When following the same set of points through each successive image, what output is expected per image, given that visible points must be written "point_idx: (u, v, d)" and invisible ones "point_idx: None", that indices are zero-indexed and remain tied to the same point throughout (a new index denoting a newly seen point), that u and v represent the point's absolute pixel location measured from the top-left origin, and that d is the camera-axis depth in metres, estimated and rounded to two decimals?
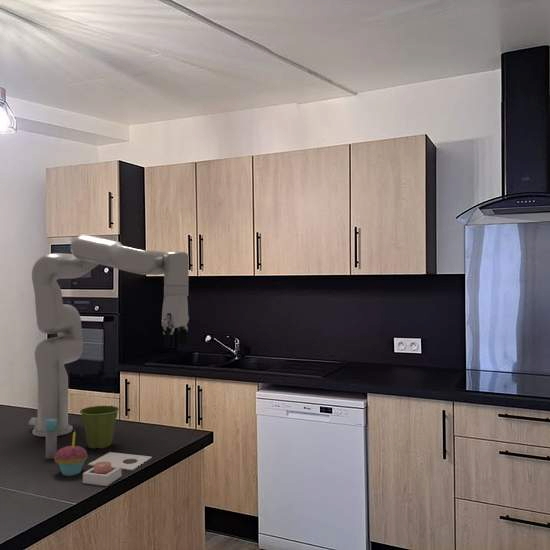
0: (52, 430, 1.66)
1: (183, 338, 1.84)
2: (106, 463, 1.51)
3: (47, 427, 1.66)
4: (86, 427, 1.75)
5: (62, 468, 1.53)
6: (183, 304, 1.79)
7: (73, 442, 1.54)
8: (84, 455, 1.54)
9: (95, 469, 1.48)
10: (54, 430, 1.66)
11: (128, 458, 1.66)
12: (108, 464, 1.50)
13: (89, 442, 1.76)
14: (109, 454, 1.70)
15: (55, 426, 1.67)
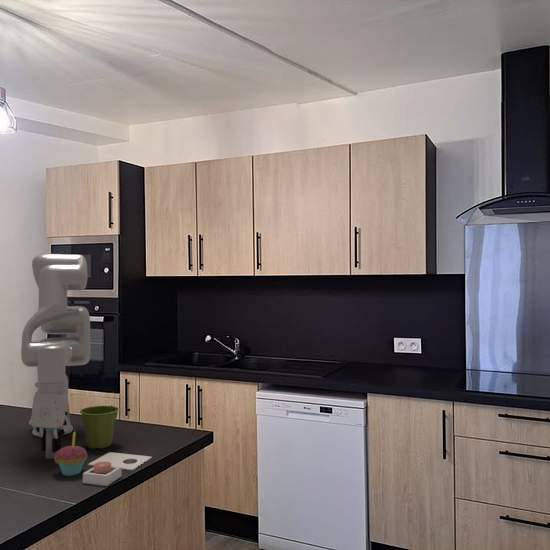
0: (52, 430, 1.66)
1: None
2: (106, 463, 1.51)
3: None
4: (86, 427, 1.75)
5: (62, 468, 1.53)
6: None
7: (73, 442, 1.54)
8: (84, 455, 1.54)
9: (95, 469, 1.48)
10: None
11: (128, 458, 1.66)
12: (108, 464, 1.50)
13: (89, 442, 1.76)
14: (109, 454, 1.70)
15: None
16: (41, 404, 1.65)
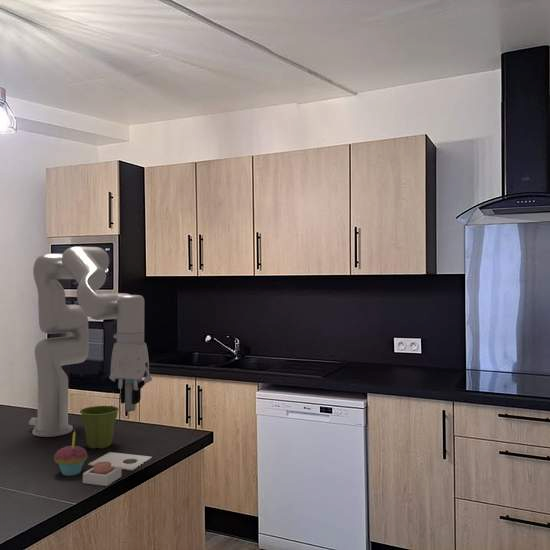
0: (132, 382, 1.62)
1: None
2: (106, 463, 1.51)
3: None
4: (86, 427, 1.75)
5: (62, 468, 1.53)
6: None
7: (73, 442, 1.54)
8: (84, 455, 1.54)
9: (95, 469, 1.48)
10: (133, 382, 1.62)
11: (128, 458, 1.66)
12: (108, 464, 1.50)
13: (89, 442, 1.76)
14: (109, 454, 1.70)
15: None
16: (121, 354, 1.61)
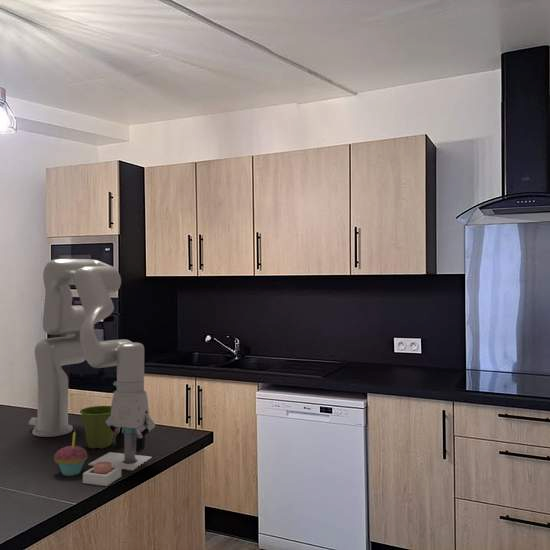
0: (131, 433, 1.62)
1: (122, 442, 1.65)
2: (106, 463, 1.51)
3: (126, 430, 1.62)
4: (86, 427, 1.75)
5: (62, 468, 1.53)
6: None
7: (73, 442, 1.54)
8: (84, 455, 1.54)
9: (95, 469, 1.48)
10: (133, 433, 1.63)
11: None
12: (108, 464, 1.50)
13: (89, 442, 1.76)
14: (109, 454, 1.70)
15: (133, 429, 1.63)
16: (121, 403, 1.61)
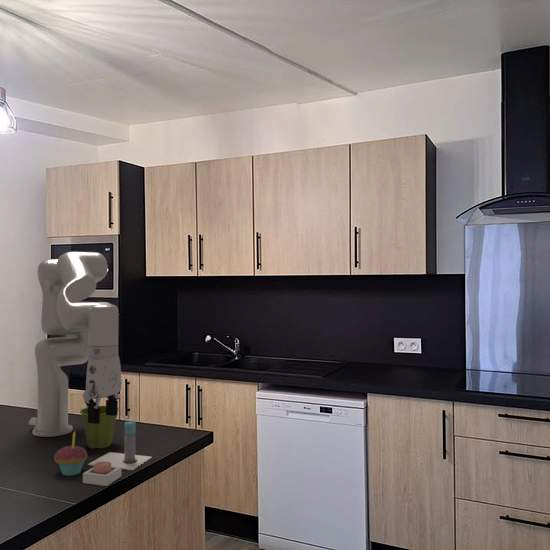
0: (131, 433, 1.62)
1: None
2: (106, 463, 1.51)
3: (126, 430, 1.62)
4: (86, 427, 1.75)
5: (62, 468, 1.53)
6: None
7: (73, 442, 1.54)
8: (84, 455, 1.54)
9: (95, 469, 1.48)
10: (133, 433, 1.63)
11: None
12: (108, 464, 1.50)
13: (89, 442, 1.76)
14: (109, 454, 1.70)
15: (134, 429, 1.63)
16: (110, 369, 1.48)
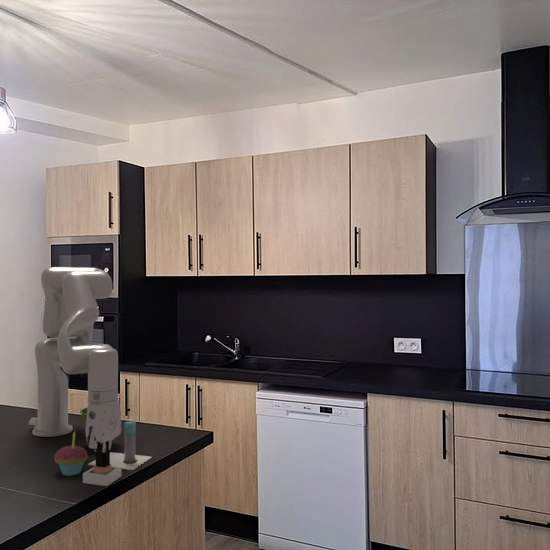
0: (131, 433, 1.62)
1: None
2: None
3: (126, 430, 1.62)
4: None
5: (62, 468, 1.53)
6: None
7: (73, 442, 1.54)
8: (84, 455, 1.54)
9: (95, 471, 1.48)
10: (133, 433, 1.63)
11: None
12: None
13: None
14: None
15: (134, 429, 1.63)
16: (109, 414, 1.48)
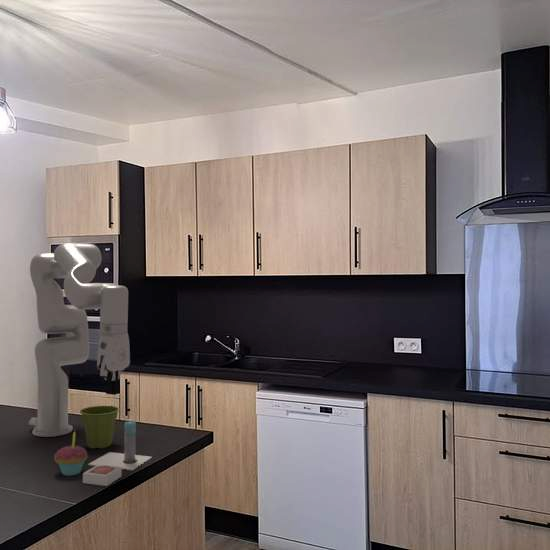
0: (131, 433, 1.62)
1: None
2: (106, 467, 1.51)
3: (126, 430, 1.62)
4: (86, 427, 1.75)
5: (62, 468, 1.53)
6: None
7: (73, 442, 1.54)
8: (84, 455, 1.54)
9: None
10: (133, 433, 1.63)
11: None
12: (108, 468, 1.50)
13: (89, 442, 1.76)
14: (109, 454, 1.70)
15: (134, 429, 1.63)
16: (119, 345, 1.60)
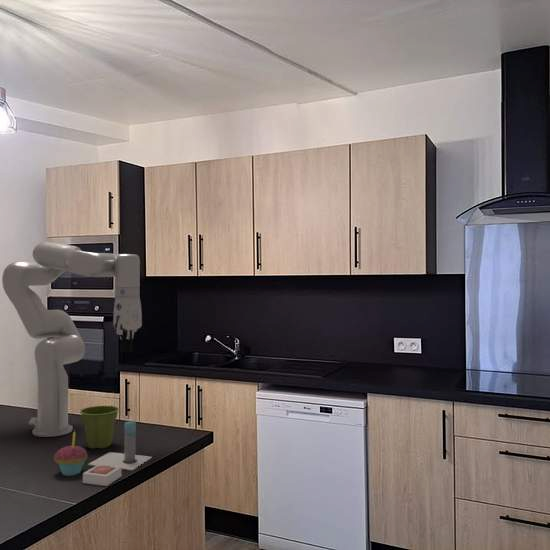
0: (131, 433, 1.62)
1: None
2: (106, 467, 1.51)
3: (126, 430, 1.62)
4: (86, 427, 1.75)
5: (62, 468, 1.53)
6: None
7: (73, 442, 1.54)
8: (84, 455, 1.54)
9: None
10: (133, 433, 1.63)
11: None
12: (108, 468, 1.50)
13: (89, 442, 1.76)
14: (109, 454, 1.70)
15: (134, 429, 1.63)
16: (133, 307, 1.78)
